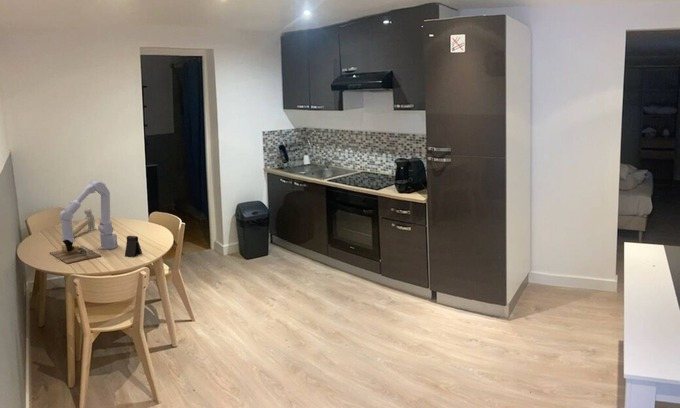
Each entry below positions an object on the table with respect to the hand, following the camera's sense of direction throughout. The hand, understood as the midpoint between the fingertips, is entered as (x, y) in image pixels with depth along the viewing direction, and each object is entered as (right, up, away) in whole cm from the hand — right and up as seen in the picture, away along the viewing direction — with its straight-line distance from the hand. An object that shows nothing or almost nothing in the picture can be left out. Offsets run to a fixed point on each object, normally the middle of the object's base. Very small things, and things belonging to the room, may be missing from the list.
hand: (69, 251), depth 333 cm
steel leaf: (+9, -2, -1) cm, 10 cm away
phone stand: (+39, -3, +2) cm, 39 cm away
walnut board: (+4, -2, 0) cm, 4 cm away
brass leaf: (0, -1, +2) cm, 2 cm away
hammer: (-14, +7, +44) cm, 47 cm away
